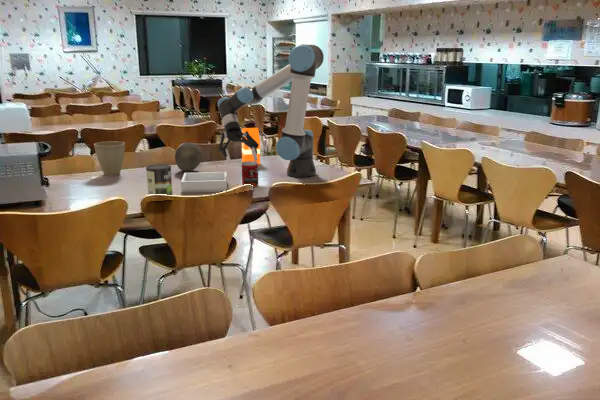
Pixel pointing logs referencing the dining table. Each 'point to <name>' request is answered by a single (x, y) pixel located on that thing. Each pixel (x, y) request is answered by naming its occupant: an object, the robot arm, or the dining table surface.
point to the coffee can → (159, 179)
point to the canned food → (250, 173)
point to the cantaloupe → (188, 157)
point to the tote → (204, 182)
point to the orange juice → (246, 150)
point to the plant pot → (110, 156)
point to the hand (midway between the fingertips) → (242, 161)
